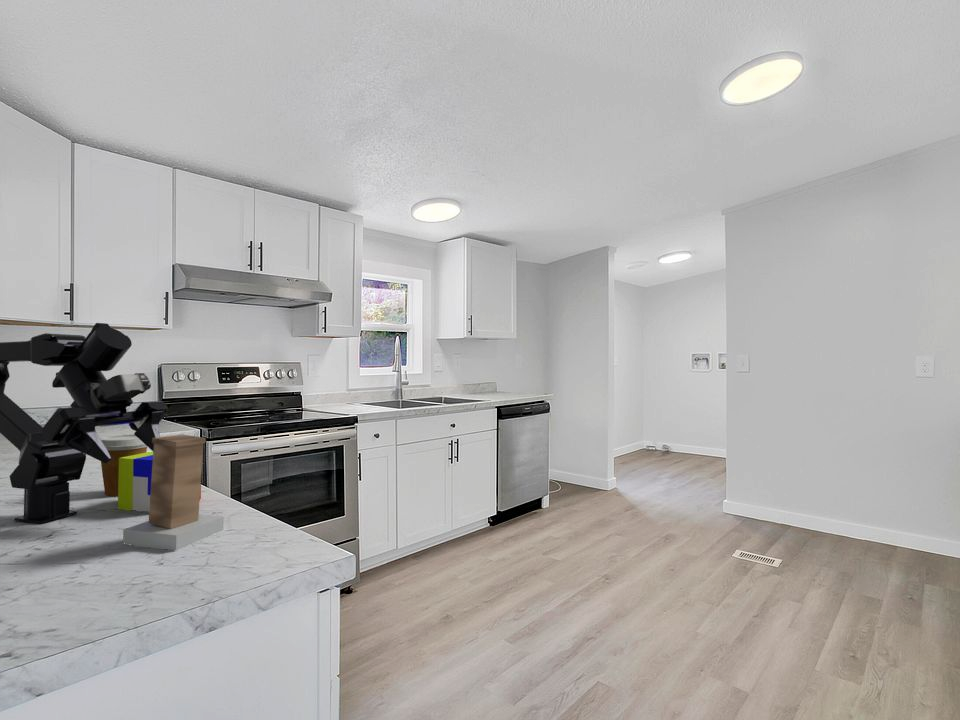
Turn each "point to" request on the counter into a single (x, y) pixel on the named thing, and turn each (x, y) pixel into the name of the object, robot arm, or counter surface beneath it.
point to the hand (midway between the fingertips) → (135, 456)
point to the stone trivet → (172, 533)
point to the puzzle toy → (135, 482)
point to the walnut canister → (176, 480)
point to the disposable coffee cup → (118, 449)
